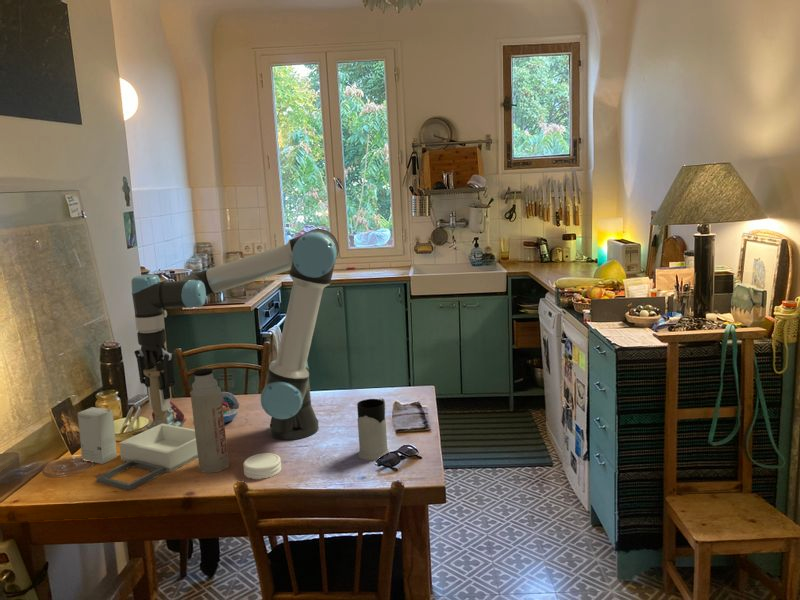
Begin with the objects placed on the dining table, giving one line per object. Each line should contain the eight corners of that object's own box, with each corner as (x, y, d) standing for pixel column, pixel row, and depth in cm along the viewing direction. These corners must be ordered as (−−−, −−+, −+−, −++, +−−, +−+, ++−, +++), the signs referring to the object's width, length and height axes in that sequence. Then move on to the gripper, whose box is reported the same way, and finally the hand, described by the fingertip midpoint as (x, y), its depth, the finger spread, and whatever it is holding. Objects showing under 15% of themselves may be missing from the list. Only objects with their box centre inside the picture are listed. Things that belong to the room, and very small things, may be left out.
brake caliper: (195, 415, 225) (180, 395, 216) (184, 445, 218) (169, 425, 209) (164, 414, 227) (148, 394, 218) (152, 444, 220) (135, 424, 211)
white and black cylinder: (353, 458, 190) (349, 407, 187) (372, 439, 203) (369, 391, 200) (382, 461, 187) (379, 409, 184) (400, 441, 200) (397, 392, 197)
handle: (158, 415, 201) (151, 366, 198) (175, 417, 198) (169, 367, 195) (146, 421, 196) (139, 371, 193) (164, 423, 194) (157, 372, 191)
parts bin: (212, 450, 202) (210, 432, 201) (170, 472, 188) (168, 453, 187) (164, 440, 211) (162, 423, 210) (121, 460, 198) (118, 442, 197)
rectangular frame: (165, 472, 188) (164, 466, 188) (129, 490, 178) (128, 485, 178) (133, 464, 194) (132, 459, 194) (96, 482, 184) (96, 477, 184)
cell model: (204, 428, 219) (201, 400, 217) (216, 415, 231) (212, 388, 229) (235, 427, 218) (232, 399, 217) (245, 414, 230) (242, 387, 228)
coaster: (265, 461, 192) (264, 449, 192) (289, 469, 186) (288, 457, 185) (236, 474, 185) (235, 462, 184) (260, 483, 178) (259, 471, 178)
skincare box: (82, 461, 198) (74, 413, 196) (98, 453, 204) (91, 406, 201) (104, 464, 195) (96, 415, 193) (119, 456, 201) (113, 408, 198)
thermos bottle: (234, 463, 191) (224, 367, 186) (213, 475, 185) (202, 376, 179) (214, 458, 195) (204, 364, 190) (193, 469, 189) (181, 372, 183)
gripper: (182, 328, 191) (191, 408, 196) (140, 324, 200) (150, 400, 204) (162, 335, 185) (171, 416, 189) (119, 330, 193) (129, 408, 198)
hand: (160, 408), depth 197 cm, fingers closed on handle, 4 cm apart
